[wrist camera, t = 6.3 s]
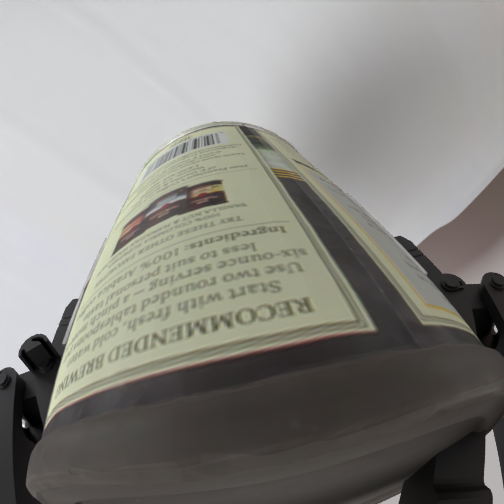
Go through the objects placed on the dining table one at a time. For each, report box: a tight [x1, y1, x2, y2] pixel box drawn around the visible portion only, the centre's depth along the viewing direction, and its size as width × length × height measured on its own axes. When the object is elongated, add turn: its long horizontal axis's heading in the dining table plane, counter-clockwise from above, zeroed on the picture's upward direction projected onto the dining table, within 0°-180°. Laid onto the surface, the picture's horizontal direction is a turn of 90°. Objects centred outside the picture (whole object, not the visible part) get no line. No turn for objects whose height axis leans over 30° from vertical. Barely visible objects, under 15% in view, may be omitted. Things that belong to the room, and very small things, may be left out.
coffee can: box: [26, 122, 504, 504], centre depth 10 cm, size 10×10×14 cm
